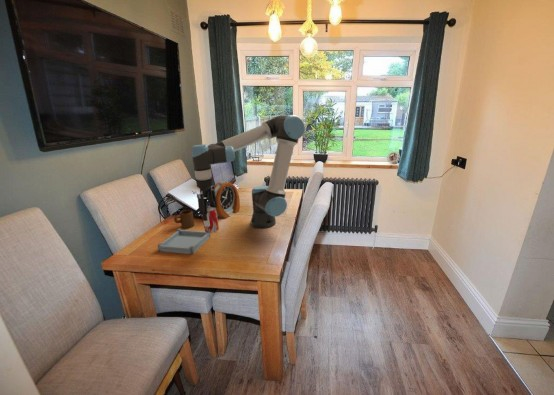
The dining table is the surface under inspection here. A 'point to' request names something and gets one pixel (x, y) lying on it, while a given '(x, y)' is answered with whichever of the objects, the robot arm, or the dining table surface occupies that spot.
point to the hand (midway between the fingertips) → (210, 222)
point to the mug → (185, 219)
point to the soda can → (211, 220)
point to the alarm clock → (226, 199)
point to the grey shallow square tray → (184, 241)
